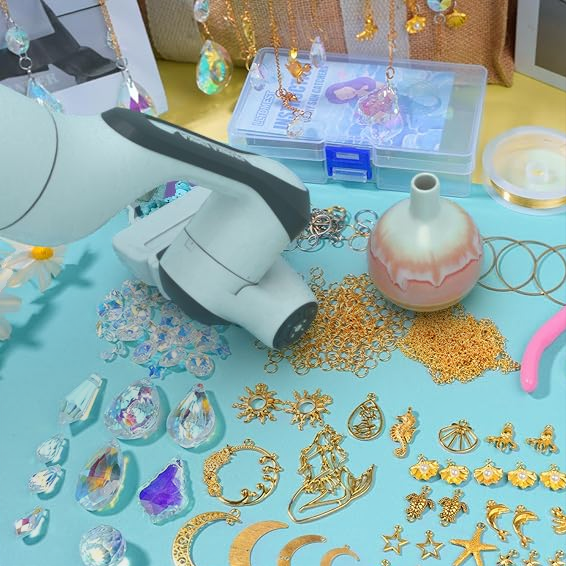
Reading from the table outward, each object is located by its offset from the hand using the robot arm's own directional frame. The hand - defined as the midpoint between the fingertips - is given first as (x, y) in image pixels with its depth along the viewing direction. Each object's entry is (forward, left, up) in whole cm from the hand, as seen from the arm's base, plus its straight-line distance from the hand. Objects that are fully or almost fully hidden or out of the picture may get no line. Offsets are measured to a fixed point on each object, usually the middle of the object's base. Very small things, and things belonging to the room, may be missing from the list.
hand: (161, 186), depth 106 cm
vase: (+33, -14, -6) cm, 36 cm away
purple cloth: (+2, +6, -6) cm, 9 cm away
